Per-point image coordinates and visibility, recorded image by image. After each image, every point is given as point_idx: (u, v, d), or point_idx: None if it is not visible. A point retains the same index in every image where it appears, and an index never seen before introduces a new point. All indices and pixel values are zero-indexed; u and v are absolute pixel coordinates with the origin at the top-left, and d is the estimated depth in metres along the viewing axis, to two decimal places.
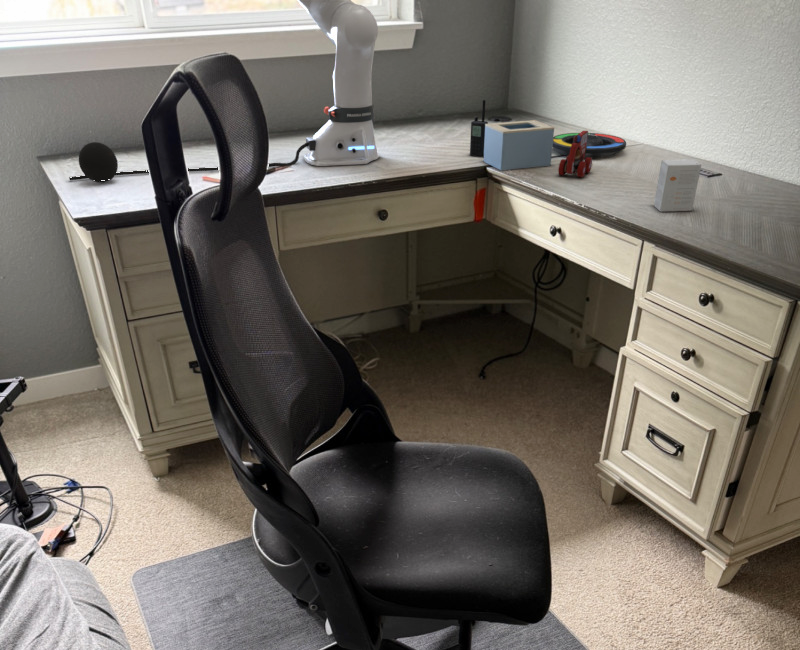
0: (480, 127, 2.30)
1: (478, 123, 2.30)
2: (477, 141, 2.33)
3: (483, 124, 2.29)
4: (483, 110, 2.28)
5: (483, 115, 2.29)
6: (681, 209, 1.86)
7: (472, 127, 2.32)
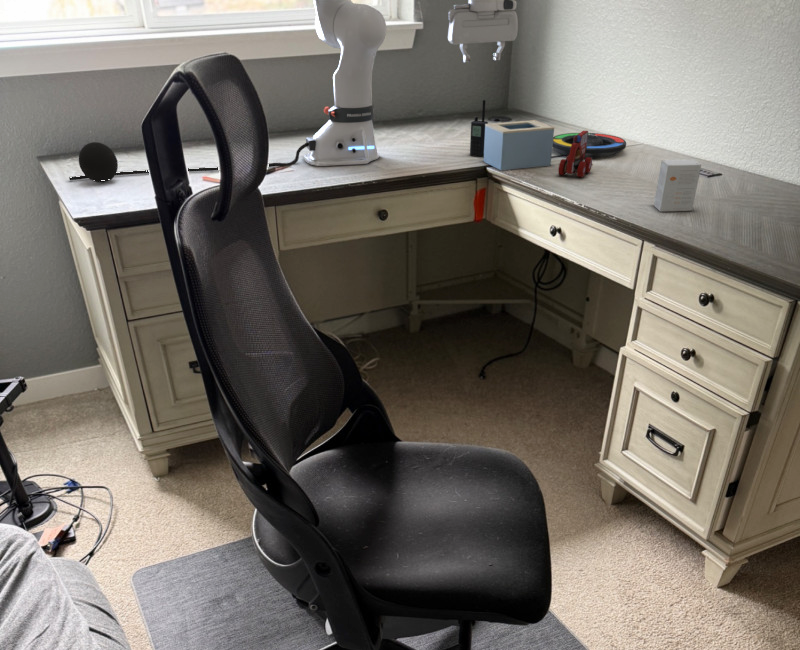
0: (480, 127, 2.30)
1: (478, 123, 2.30)
2: (477, 141, 2.33)
3: (483, 124, 2.29)
4: (483, 110, 2.28)
5: (483, 115, 2.29)
6: (681, 209, 1.86)
7: (472, 127, 2.32)
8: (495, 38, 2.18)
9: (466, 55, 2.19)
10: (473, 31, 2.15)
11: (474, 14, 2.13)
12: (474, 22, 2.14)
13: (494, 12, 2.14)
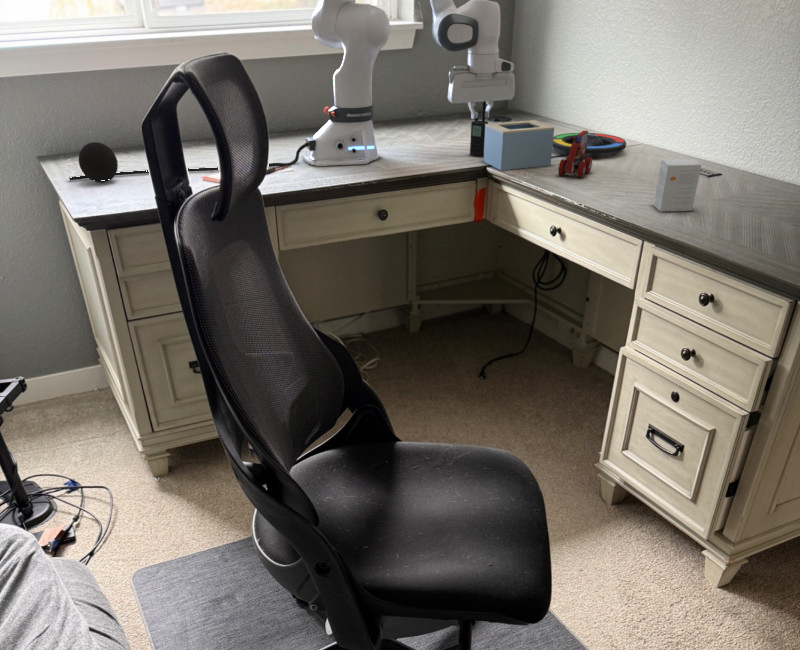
0: (480, 127, 2.30)
1: (478, 123, 2.30)
2: (477, 140, 2.33)
3: (483, 124, 2.30)
4: (483, 110, 2.28)
5: (483, 115, 2.29)
6: (681, 209, 1.86)
7: (472, 127, 2.32)
8: (493, 97, 2.27)
9: (474, 112, 2.28)
10: (472, 91, 2.24)
11: (473, 75, 2.21)
12: (473, 83, 2.23)
13: (492, 73, 2.22)
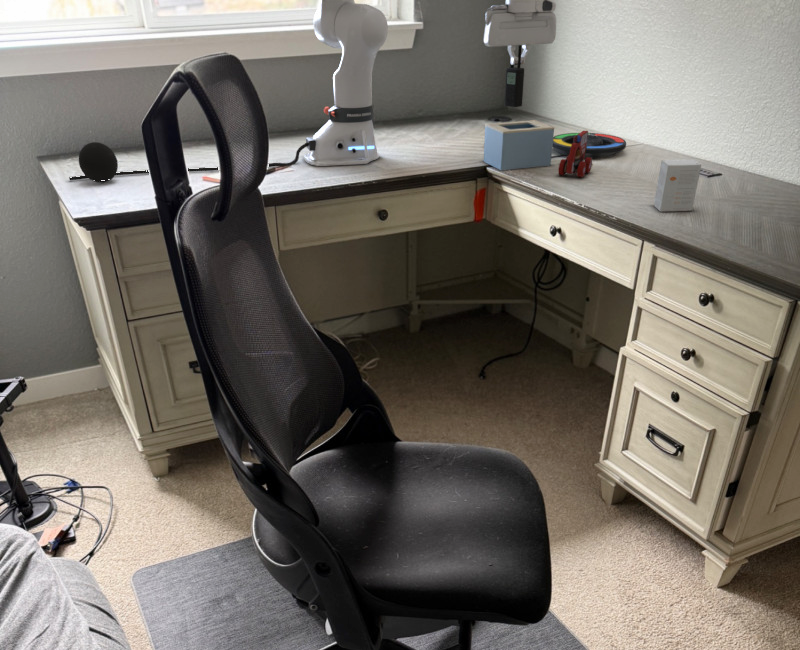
0: (514, 74, 2.14)
1: (513, 69, 2.13)
2: (512, 89, 2.16)
3: (518, 70, 2.13)
4: (519, 55, 2.12)
5: (519, 61, 2.12)
6: (681, 209, 1.86)
7: (507, 74, 2.15)
8: (532, 40, 2.10)
9: (514, 57, 2.12)
10: (510, 33, 2.07)
11: (512, 15, 2.04)
12: (512, 24, 2.06)
13: (532, 13, 2.06)
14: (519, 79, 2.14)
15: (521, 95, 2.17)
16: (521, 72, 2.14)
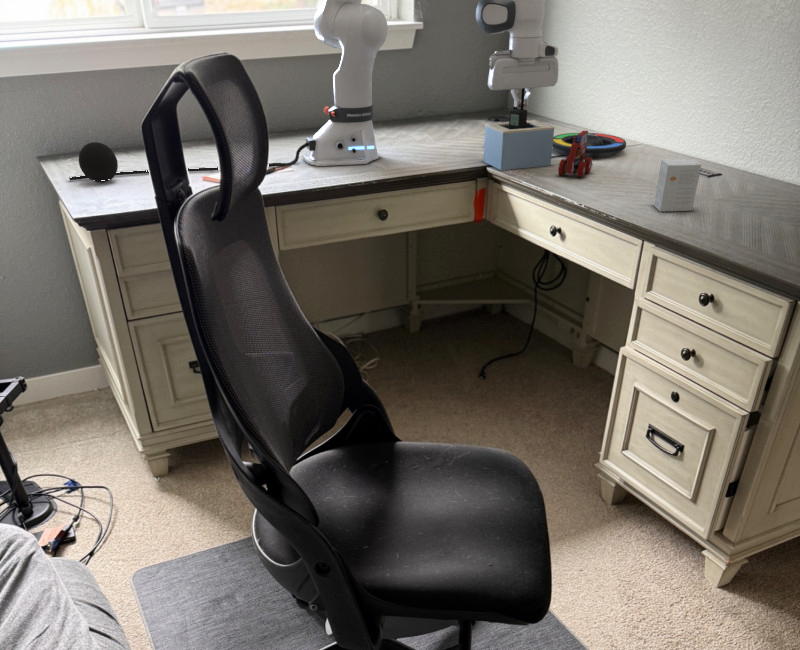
0: (517, 115, 2.19)
1: (516, 111, 2.19)
2: None
3: (521, 112, 2.18)
4: (522, 97, 2.17)
5: (522, 103, 2.17)
6: (681, 209, 1.86)
7: (510, 115, 2.20)
8: (535, 84, 2.15)
9: (517, 100, 2.17)
10: (513, 77, 2.12)
11: (515, 60, 2.10)
12: (515, 68, 2.11)
13: (535, 58, 2.11)
14: (522, 121, 2.19)
15: None
16: (524, 114, 2.19)
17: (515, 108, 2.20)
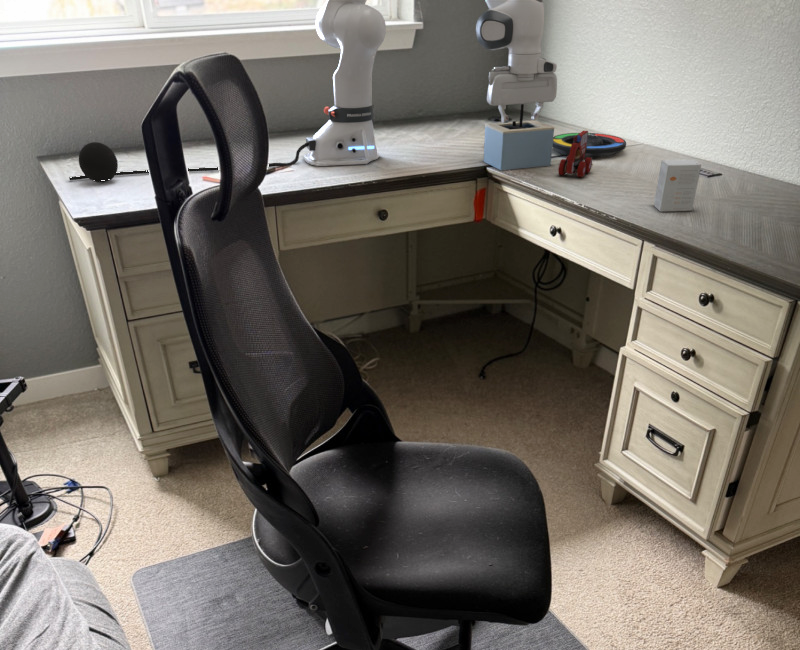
0: None
1: (515, 128, 2.21)
2: None
3: None
4: (521, 115, 2.19)
5: (521, 120, 2.20)
6: (681, 209, 1.86)
7: None
8: (534, 99, 2.17)
9: (504, 116, 2.18)
10: (512, 93, 2.14)
11: (514, 76, 2.12)
12: (514, 84, 2.13)
13: (534, 74, 2.13)
14: None
15: None
16: None
17: (514, 125, 2.22)
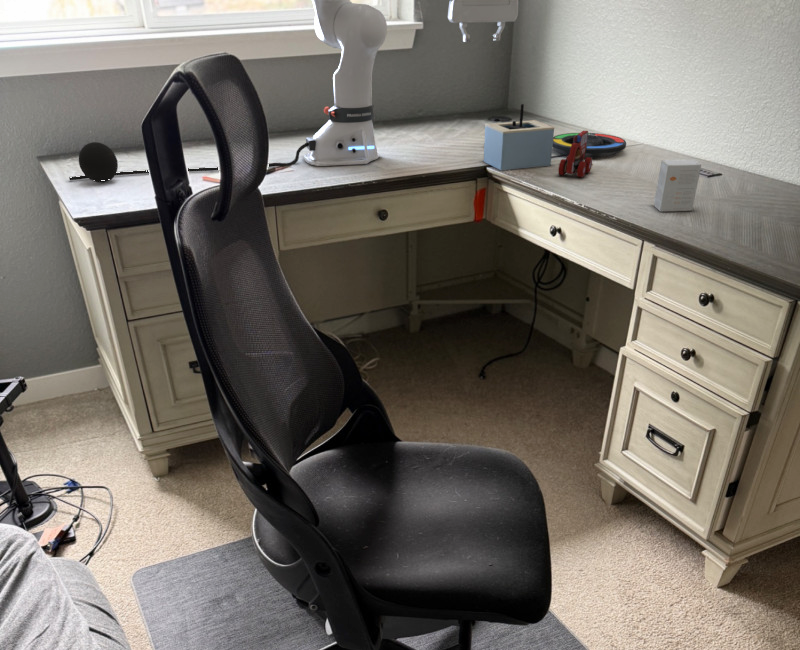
0: None
1: (515, 128, 2.21)
2: None
3: None
4: (521, 115, 2.19)
5: (521, 120, 2.20)
6: (681, 209, 1.86)
7: None
8: (495, 18, 2.17)
9: (466, 34, 2.18)
10: (473, 10, 2.14)
11: None
12: (475, 1, 2.13)
13: None
14: None
15: None
16: None
17: (514, 125, 2.22)
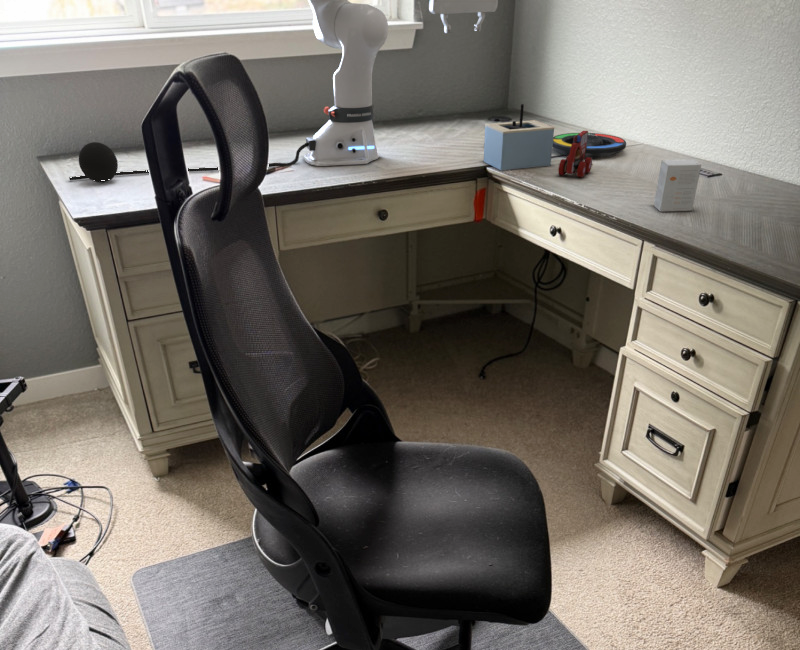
0: None
1: (515, 128, 2.21)
2: None
3: None
4: (521, 115, 2.19)
5: (521, 120, 2.20)
6: (681, 209, 1.86)
7: None
8: (475, 9, 2.21)
9: (447, 25, 2.22)
10: (453, 1, 2.19)
11: None
12: None
13: None
14: None
15: None
16: None
17: (514, 125, 2.22)
